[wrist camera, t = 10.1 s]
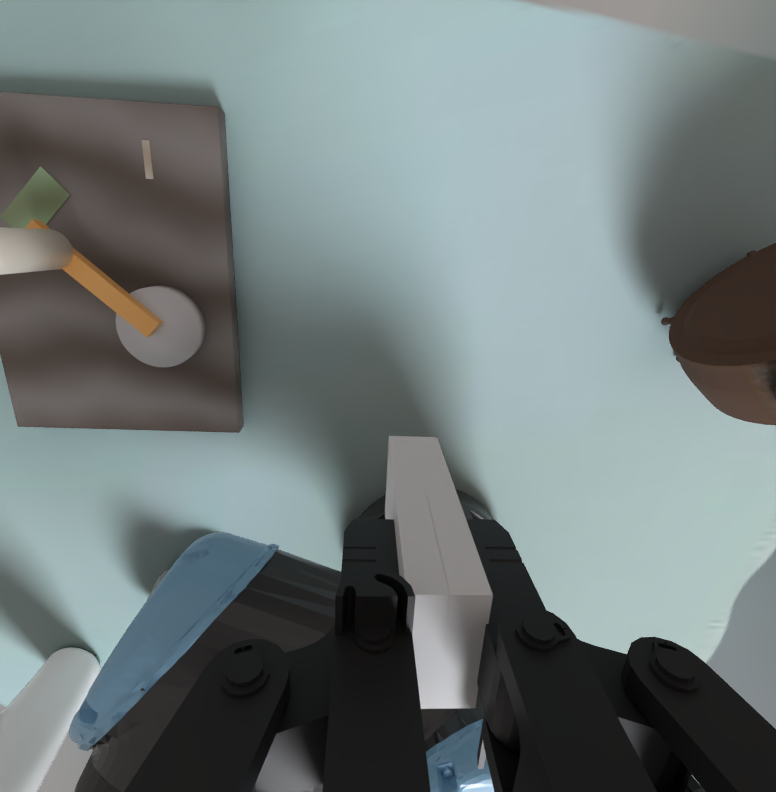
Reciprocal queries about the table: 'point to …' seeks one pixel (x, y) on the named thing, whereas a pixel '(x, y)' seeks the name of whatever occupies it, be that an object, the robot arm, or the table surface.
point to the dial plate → (118, 260)
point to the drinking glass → (43, 718)
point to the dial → (113, 296)
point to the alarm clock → (733, 338)
